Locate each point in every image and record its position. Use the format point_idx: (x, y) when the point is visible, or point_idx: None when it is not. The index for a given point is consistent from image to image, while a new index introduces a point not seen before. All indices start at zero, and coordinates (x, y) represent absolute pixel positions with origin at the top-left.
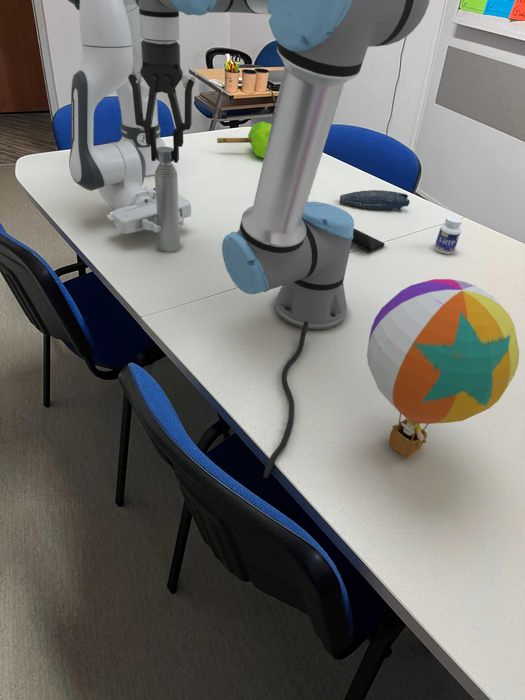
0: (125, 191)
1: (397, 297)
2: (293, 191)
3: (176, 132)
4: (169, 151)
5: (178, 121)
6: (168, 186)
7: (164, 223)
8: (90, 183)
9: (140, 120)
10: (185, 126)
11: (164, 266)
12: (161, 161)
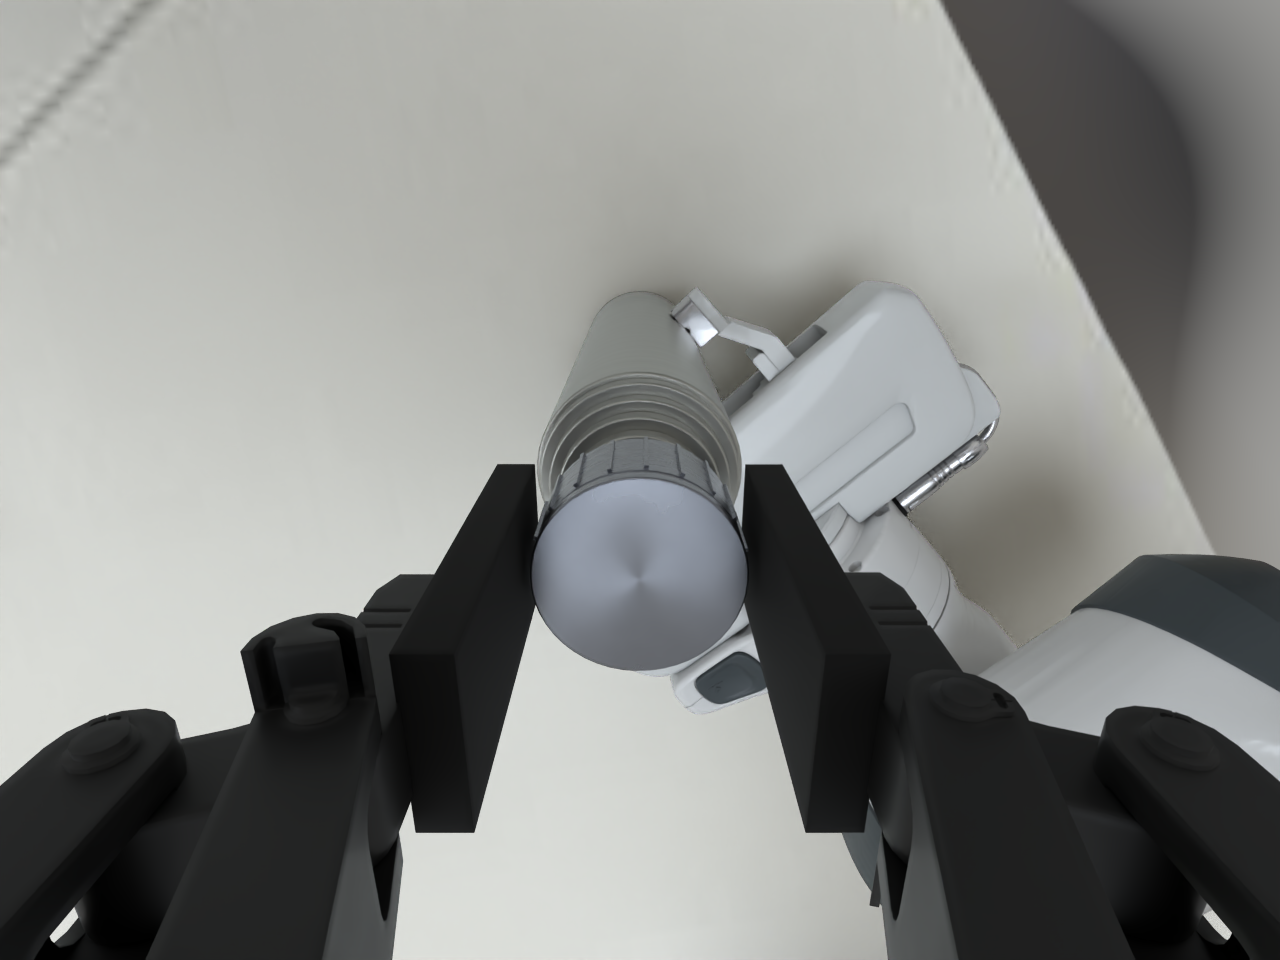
0: (928, 611)
1: None
2: None
3: (393, 665)
4: (571, 521)
5: (245, 829)
6: (607, 360)
7: (651, 312)
8: (1182, 555)
9: (1167, 786)
10: (142, 751)
11: (632, 131)
12: (669, 444)
